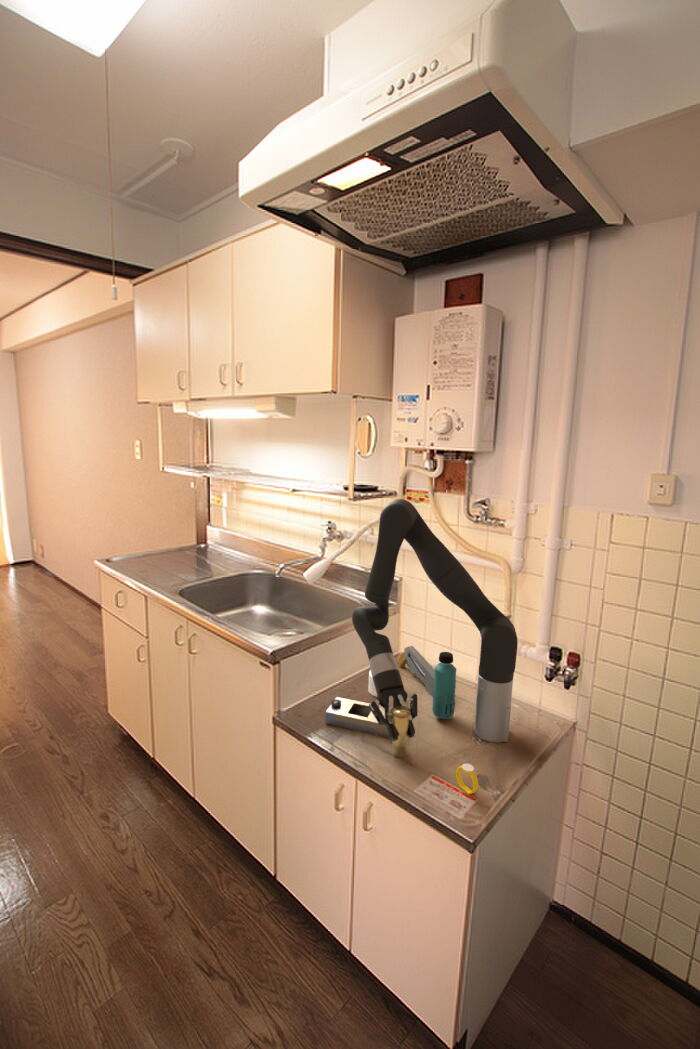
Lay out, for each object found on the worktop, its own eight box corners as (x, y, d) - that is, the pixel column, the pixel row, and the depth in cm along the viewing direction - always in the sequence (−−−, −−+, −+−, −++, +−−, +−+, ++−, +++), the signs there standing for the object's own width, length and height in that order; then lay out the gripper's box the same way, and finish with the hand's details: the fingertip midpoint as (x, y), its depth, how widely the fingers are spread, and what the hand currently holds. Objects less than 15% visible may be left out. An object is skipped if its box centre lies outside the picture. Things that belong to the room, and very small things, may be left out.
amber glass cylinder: (410, 749, 132) (412, 707, 130) (406, 760, 127) (408, 716, 125) (392, 745, 133) (394, 703, 131) (388, 755, 129) (389, 712, 127)
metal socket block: (404, 722, 145) (405, 707, 144) (396, 739, 136) (397, 723, 135) (336, 707, 151) (336, 693, 151) (325, 723, 143) (325, 708, 142)
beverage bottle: (444, 726, 143) (448, 660, 140) (426, 716, 148) (430, 652, 145) (458, 719, 147) (463, 654, 144) (441, 709, 152) (444, 647, 149)
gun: (428, 718, 163) (441, 686, 155) (394, 663, 182) (403, 632, 174) (436, 716, 164) (449, 684, 157) (401, 661, 183) (411, 630, 176)
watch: (479, 796, 116) (482, 774, 114) (470, 800, 114) (473, 778, 113) (461, 779, 121) (463, 757, 119) (452, 783, 119) (455, 761, 118)
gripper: (365, 672, 131) (383, 740, 122) (413, 664, 136) (434, 729, 127) (357, 681, 137) (373, 747, 128) (404, 674, 142) (422, 737, 133)
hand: (403, 738), depth 128 cm, fingers closed on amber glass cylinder, 4 cm apart
